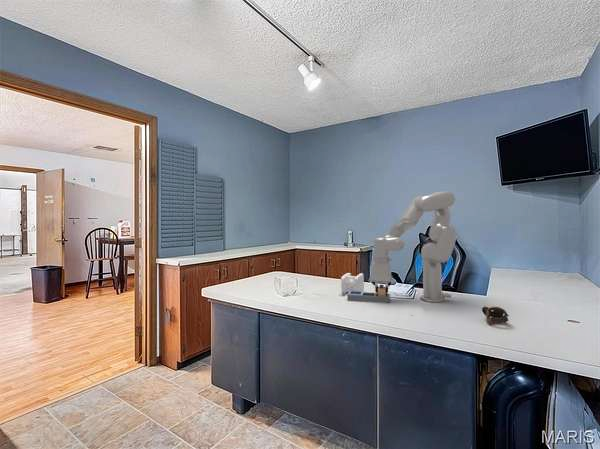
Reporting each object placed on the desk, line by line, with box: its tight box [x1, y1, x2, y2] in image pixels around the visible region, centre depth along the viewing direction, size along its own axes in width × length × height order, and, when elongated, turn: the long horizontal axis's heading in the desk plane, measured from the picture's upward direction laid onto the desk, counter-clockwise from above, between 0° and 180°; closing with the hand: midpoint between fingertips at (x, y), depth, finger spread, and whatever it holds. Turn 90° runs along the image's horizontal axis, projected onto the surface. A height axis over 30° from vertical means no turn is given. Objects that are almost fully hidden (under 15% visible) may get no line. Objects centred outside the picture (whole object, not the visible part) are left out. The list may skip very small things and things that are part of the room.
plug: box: [378, 284, 386, 297], centre depth 170 cm, size 4×4×8 cm
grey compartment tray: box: [346, 290, 391, 304], centre depth 173 cm, size 22×8×5 cm, turn 73°
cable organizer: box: [340, 272, 365, 295], centre depth 193 cm, size 15×11×12 cm
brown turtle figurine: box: [481, 306, 510, 326], centre depth 137 cm, size 12×10×8 cm
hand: (381, 293), depth 170 cm, fingers closed on plug, 4 cm apart
